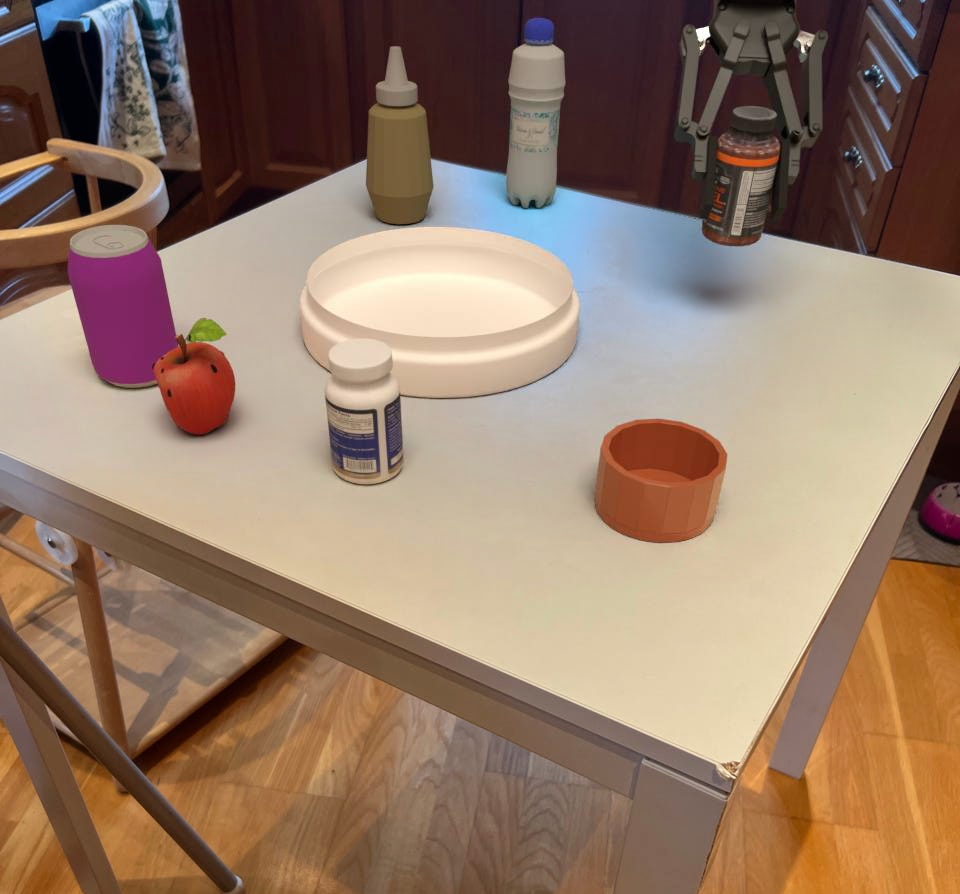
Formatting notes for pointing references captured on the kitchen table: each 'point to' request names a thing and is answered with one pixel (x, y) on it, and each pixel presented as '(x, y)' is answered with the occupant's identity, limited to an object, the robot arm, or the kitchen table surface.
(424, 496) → the kitchen table surface
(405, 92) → the squeeze bottle
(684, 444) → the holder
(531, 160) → the bottle
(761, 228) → the supplement bottle
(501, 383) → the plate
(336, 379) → the pill bottle
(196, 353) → the apple
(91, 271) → the beverage can
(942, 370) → the kitchen table surface
